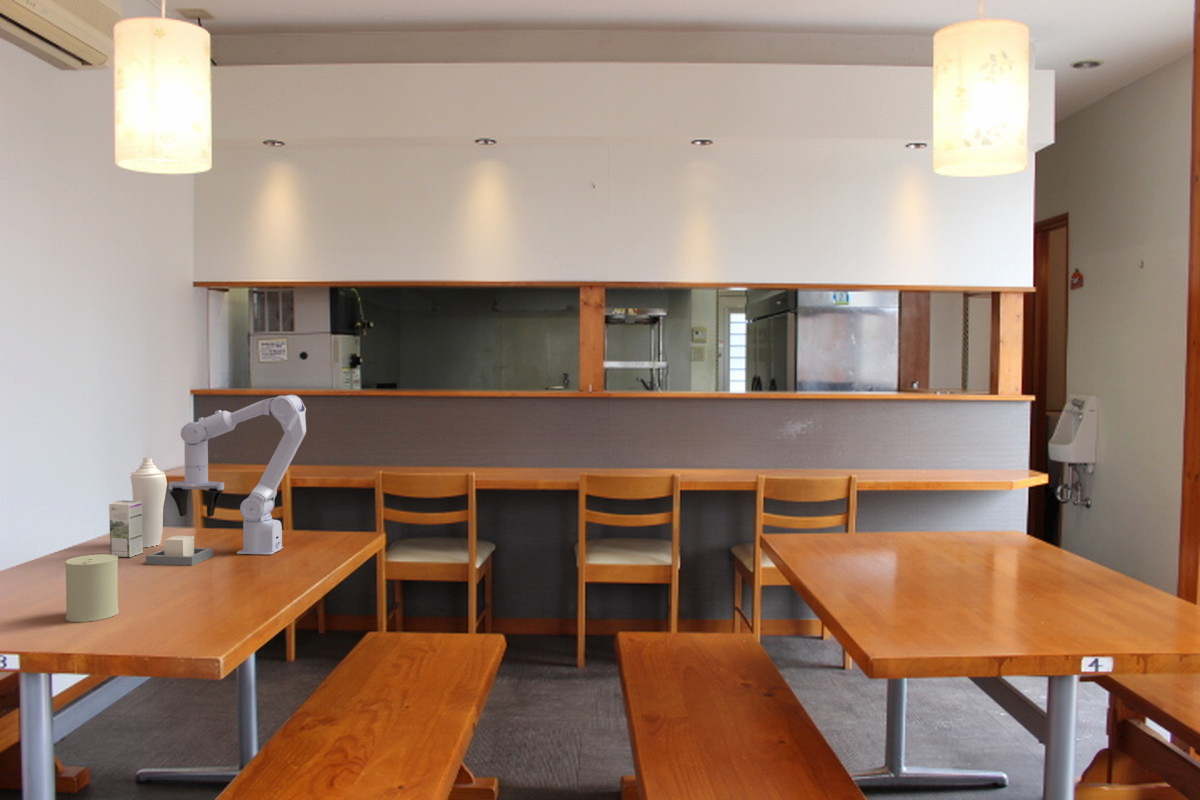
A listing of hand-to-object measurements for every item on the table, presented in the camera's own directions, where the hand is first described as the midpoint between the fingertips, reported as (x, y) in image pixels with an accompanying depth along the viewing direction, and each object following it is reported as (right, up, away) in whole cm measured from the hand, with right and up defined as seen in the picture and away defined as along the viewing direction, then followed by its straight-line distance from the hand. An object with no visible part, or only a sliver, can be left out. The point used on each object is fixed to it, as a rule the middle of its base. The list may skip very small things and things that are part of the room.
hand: (196, 515), depth 224 cm
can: (+7, -12, -57) cm, 59 cm away
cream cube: (0, -9, -10) cm, 14 cm away
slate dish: (0, -10, -10) cm, 14 cm away
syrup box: (-16, -10, -5) cm, 20 cm away
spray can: (-18, -10, +7) cm, 21 cm away
